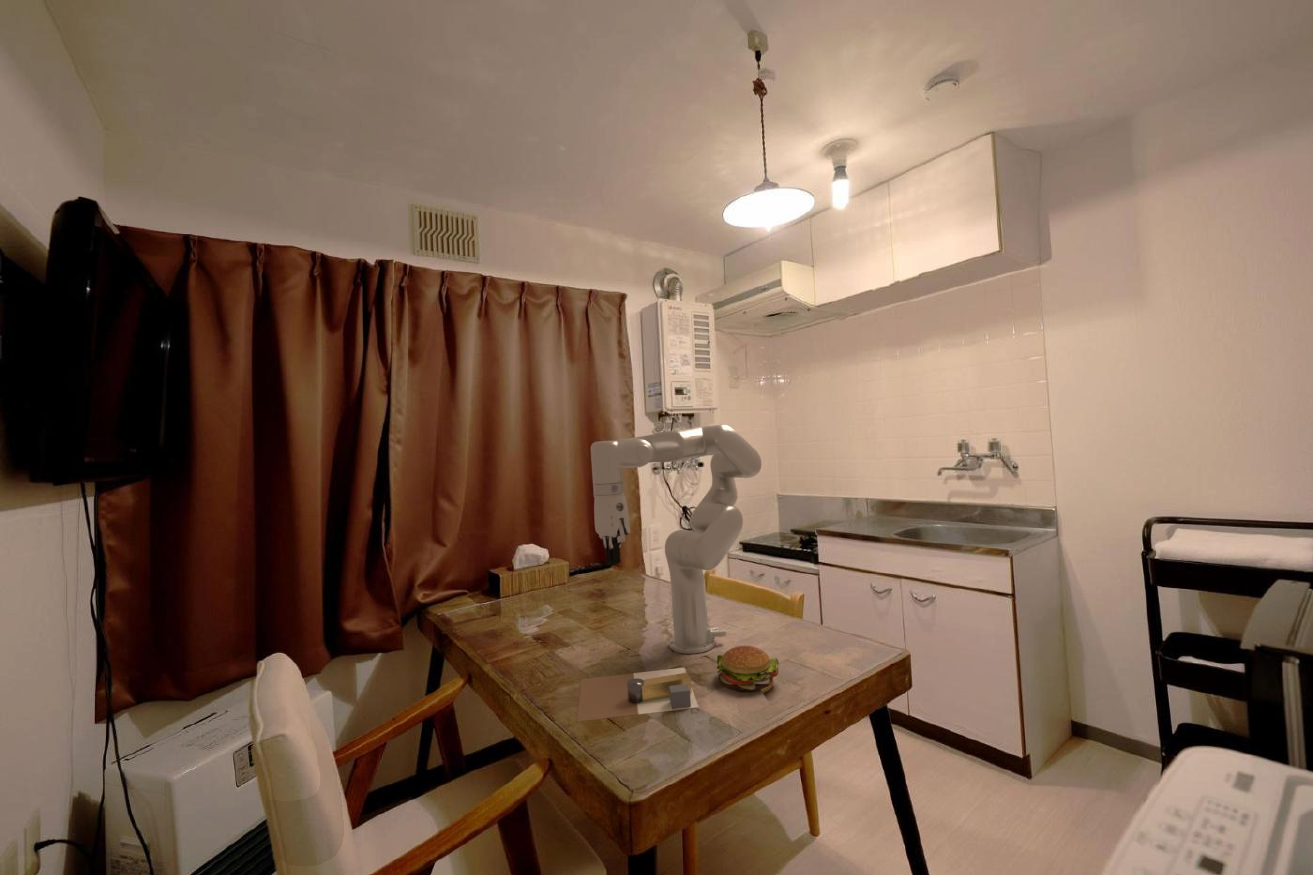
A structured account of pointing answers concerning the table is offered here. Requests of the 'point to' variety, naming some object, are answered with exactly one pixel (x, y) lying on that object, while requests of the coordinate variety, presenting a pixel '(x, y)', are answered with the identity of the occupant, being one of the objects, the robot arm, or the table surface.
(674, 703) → the door panel
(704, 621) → the robot arm
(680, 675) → the bar
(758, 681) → the food
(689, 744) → the table surface
